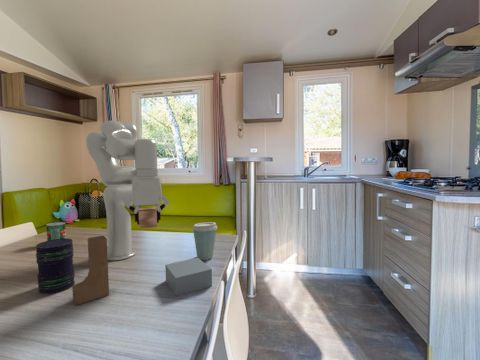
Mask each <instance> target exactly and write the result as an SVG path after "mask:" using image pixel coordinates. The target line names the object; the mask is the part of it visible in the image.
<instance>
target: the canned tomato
mask: <svg viewBox="0 0 480 360" xmlns="http://www.w3.org/2000/svg"><path fill="white" fill-rule="evenodd" d="M45 225H46V241H49V240H55V239H67V233H66V231H67V230H66V222H65V221H56V222H50V223H47V224H45Z"/></svg>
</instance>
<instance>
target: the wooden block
mask: <svg viewBox="0 0 480 360" xmlns="http://www.w3.org/2000/svg"><path fill="white" fill-rule="evenodd" d="M107 246H108V238H107V237H106V236H105V235H99V236H93V237H88V238H87V250H88V251H87V252H88V253H87V254H88V256H87V257H88V273H87V276H85V278H84V280H82V281H81V282H78V283H75V284H74V285H73V286H72V287H71V288H72V289H71V290H72V300H73V303H74V305H75V306H79V305H81V304H86V303H88V302H91V301H94V300H97V299H101V298H103V297H107V296H109V295H110V283H109V260H108V256H107Z"/></svg>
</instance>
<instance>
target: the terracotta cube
mask: <svg viewBox="0 0 480 360" xmlns="http://www.w3.org/2000/svg"><path fill="white" fill-rule="evenodd" d="M138 211H139V225H138V227H139V229H148V228H158V223H157V208H156V207H146V208H145V207H144V208H139V210H138Z"/></svg>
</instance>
